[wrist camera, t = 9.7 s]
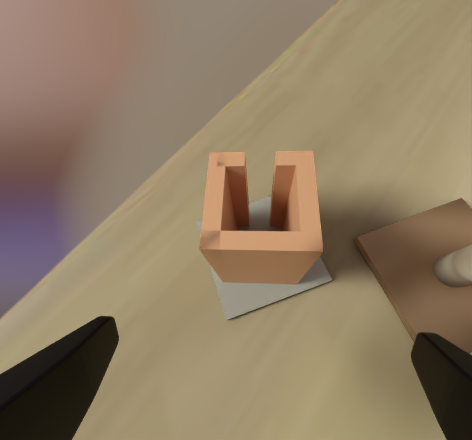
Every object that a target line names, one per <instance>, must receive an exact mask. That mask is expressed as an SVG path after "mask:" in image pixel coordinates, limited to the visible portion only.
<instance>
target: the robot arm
mask: <svg viewBox="0 0 472 440" xmlns="http://www.w3.org/2000/svg"><path fill="white" fill-rule="evenodd" d="M118 341H119V335H118V331H117V327H116V323H115V319H114V318H113V317H111V316H99V317H97V318H95V319H94V320H92V321H90V322H89V323H87V324H85V325H83V326H82V327H80V328H78V329H77V330H75V331H73V332H72V333H70V334H68V335H66V336H65V337H63V338H61V339H60V340H58V341H56V342H54V343H53V344H51V345H49V346H48V347H46V348H44V349H43V350H41V351H39V352H37V353H36V354H34V355H32V356H31V357H29V358H27V359H26V360H24V361H22V362H20V363H19V364H17V365H15V366H14V367H12V368H10V369H8V370H7V371H5V372H3V373H2V374H0V440H72V438H73V437H74V435H75V433H76V431H77V429H78V427H79V425H80V424H81V422H82V420H83V418H84V416H85V414H86V412H87V411H88V409H89V407H90V405H91V403H92V401H93V399H94V397H95V395H96V393H97V391H98V389H99V387H100V384H101V382H102V380H103V377H104V375H105V373H106V370H107V368H108V366H109V363H110V361H111V359H112V356H113V354H114V352H115V350H116V347H117V345H118ZM411 359H412V363H413V365H414V368H415V370H416V372H417V375H418V377H419V379H420V382H421V384H422V386H423V389H424V391H425V393H426V396H427V398H428V400H429V403H430V405H431V407H432V410H433V412H434V414H435V417H436V419H437V421H438V423H439V425H440V427H441V429H442V431H443V433H444V435H445V437H446V439H447V440H472V355H470V354H469V353H467V352H466V351H464V350H462V349H461V348H459V347H458V346H456V345H454V344H453V343H451V342H450V341H448V340H446V339H445V338H443V337H442V336H440V335H438V334H436V333H432V332H419V333H418V334H417V335H416V338H415V342H414V345H413V349H412V352H411Z"/></svg>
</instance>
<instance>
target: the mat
mask: <svg viewBox="0 0 472 440" xmlns="http://www.w3.org/2000/svg"><path fill="white" fill-rule="evenodd" d="M271 197H272V195H271V196H268V197H266V198H263V199H260V200H257V201H254V202H251V203H249V212H250V227H237V231H282V227H270V207H271ZM197 225H198V228H199V232H200V235H201V228H202V220H199V221H197ZM210 268H211V271H212V274H213V278H214V281H215V284H216V287H217V291H218V294H219V297H220V300H221V304H222V307H223V310H224V313H225V317H226V320H229V319H232V318H234V317H237V316H240V315H242V314H245V313H248V312H250V311H253V310H256V309H258V308H261V307H264V306H266V305H269V304H271V303H274V302H277V301H279V300H282V299H285V298H287V297H290V296H293V295H295V294H298V293H301V292H303V291H306V290H308V289H311V288H314V287H316V286H319V285H322V284H324V283H327V282H330V281H332V278H331V276H330V274H329V272H328V270H327V269H326V267H325V265H324V263H323V261H322V259H321V257H320V256H319V258H318V259H317V260H316V261H315V262H314V264H313V265H312V266H311V267H310V269H309V270H308V271H307V272H306V274H305V275H304V276H303V277H302V279H301V280H300V281H299V282H298V284H264V283H230V282H222V280H221V279H220V277H219V276H218V275H217V273H216V272H215V271H214V269H213V268H212V266H211V265H210Z"/></svg>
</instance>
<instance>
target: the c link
mask: <svg viewBox="0 0 472 440" xmlns="http://www.w3.org/2000/svg"><path fill="white" fill-rule="evenodd" d="M237 227H250V212H249V199H248V186H247V172H246V159H245V152H219V153H210V155H209V165H208V174H207V183H206V192H205V201H204V210H203V219H202V228H201V237H200V247H199V250H200V251H201V252H202V254H203V255H204V257H205V258H206V259H207V261H208V262H209V264H210V265H211V266H212V268H213V269H214V271H215V272H216V273H217V275H218V276H219V277H220V279H221V280H222V282H230V283H264V284H298V282H299V281H300V280H301V279H302V277H303V276H304V275H305V274H306V272H307V271H308V270H309V269H310V267H311V266H312V265H313V264H314V262H315V261H316V260H317V259H318V258H319V256H320V255H321V254H322V253H323V242H322V233H321V223H320V214H319V204H318V195H317V185H316V176H315V166H314V157H313V151H276V155H275V166H274V176H273V186H272V197H271V207H270V227H282V231H237Z"/></svg>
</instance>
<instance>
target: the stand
mask: <svg viewBox="0 0 472 440" xmlns="http://www.w3.org/2000/svg"><path fill="white" fill-rule="evenodd" d="M354 241H355V243H356V245H357V246H358V248H359V250H360V252H361V253H362V255H363V257H364V258H365V260H366V262H367V263H368V265H369V267H370V268H371V270H372V272H373V273H374V275H375V277H376V278H377V280H378V282H379V283H380V285H381V287H382V288H383V290H384V292H385V294H386V295H387V297H388V299H389V300H390V302H391V304H392V305H393V307H394V309H395V310H396V312H397V314H398V315H399V317H400V319H401V320H402V322H403V324H404V325H405V327H406V329H407V330H408V332H409V334H410V336H411V337H412V339H413V341H414V342H415V338H416V335H417V334H418V333H419V332H432V333H436V334H438V335H440V336H442V337H443V338H445V339H446V340H448V341H450V342H451V343H453V344H454V345H456V346H458V347H459V348H461V349H462V350H464V351H466V352H467V353H470V352H472V209H471V208H470V207H469V206H468V205H467V204H466V202H465V201H464V200H463V199H462V198H460V199H458V200H455V201H452V202H449V203H447V204H444V205H441V206H439V207H436V208H433V209H430V210H428V211H425V212H422V213H420V214H417V215H414V216H411V217H409V218H406V219H403V220H401V221H398V222H395V223H392V224H390V225H387V226H384V227H382V228H379V229H376V230H373V231H371V232H368V233H365V234H363V235H360V236H357V237H356V238H355V239H354Z"/></svg>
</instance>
